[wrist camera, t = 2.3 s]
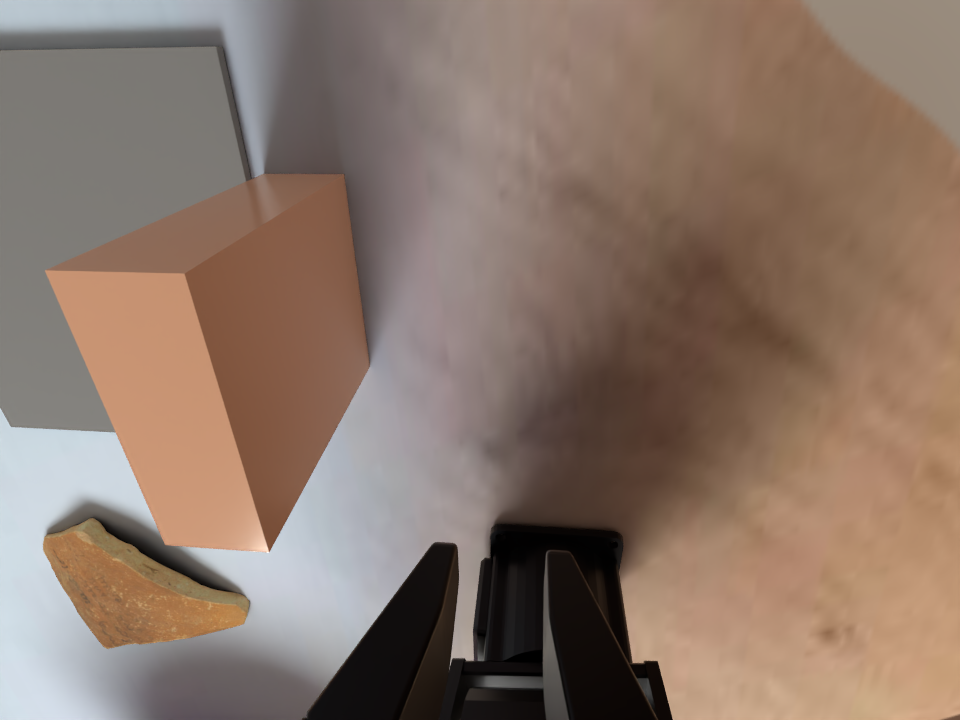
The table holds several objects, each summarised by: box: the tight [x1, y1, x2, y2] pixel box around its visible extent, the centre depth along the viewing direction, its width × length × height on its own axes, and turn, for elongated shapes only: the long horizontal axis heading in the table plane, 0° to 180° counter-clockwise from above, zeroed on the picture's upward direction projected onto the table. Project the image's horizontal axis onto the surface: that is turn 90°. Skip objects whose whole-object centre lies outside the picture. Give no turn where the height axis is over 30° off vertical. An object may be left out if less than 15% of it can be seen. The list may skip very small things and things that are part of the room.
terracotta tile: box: [45, 174, 370, 552], centre depth 17 cm, size 3×8×10 cm, turn 1°
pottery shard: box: [43, 518, 249, 649], centre depth 32 cm, size 10×9×2 cm
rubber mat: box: [0, 46, 251, 432], centre depth 22 cm, size 15×16×1 cm
